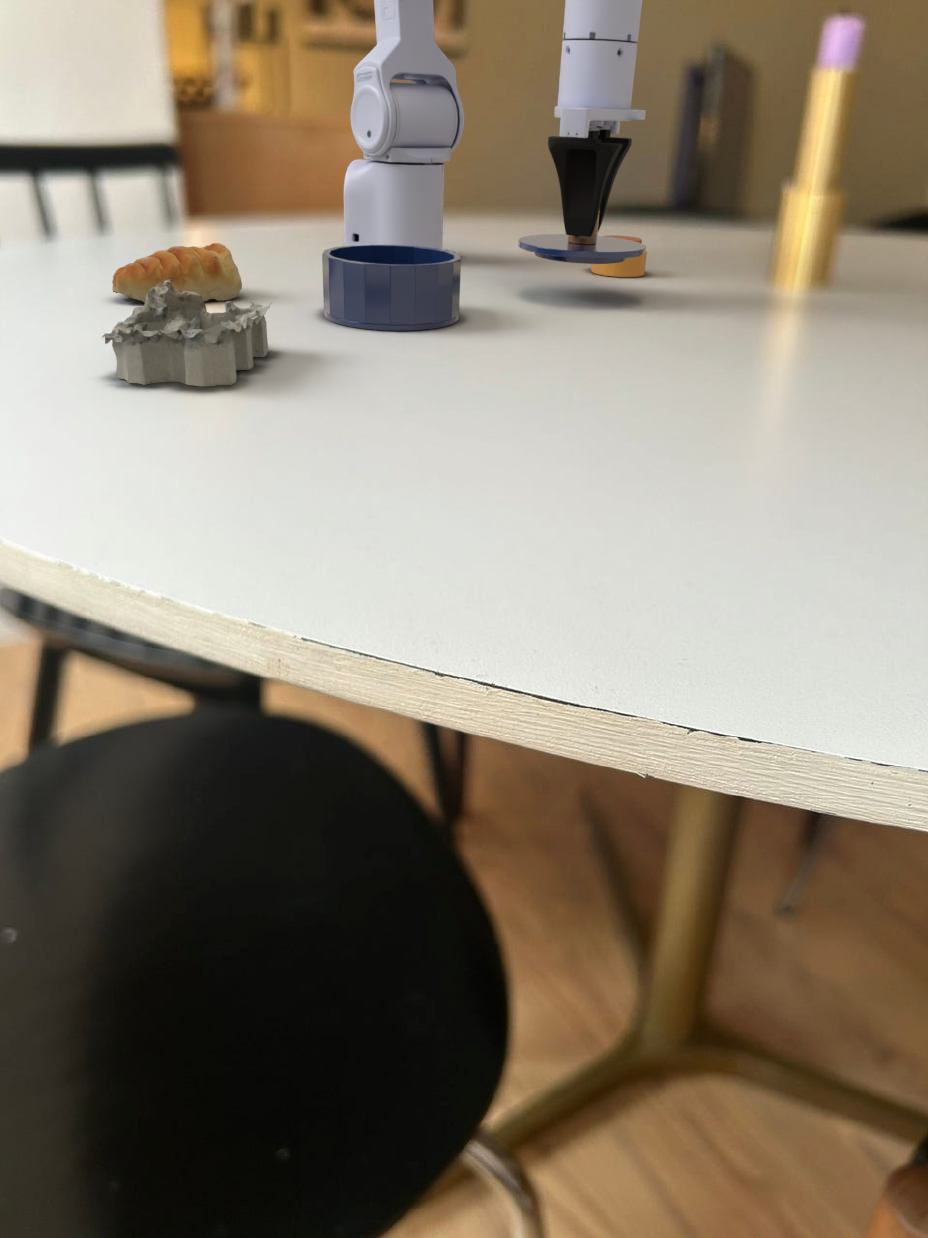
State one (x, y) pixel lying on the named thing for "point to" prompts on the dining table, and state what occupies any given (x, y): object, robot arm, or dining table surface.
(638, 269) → the stepped round knob
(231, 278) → the pastry
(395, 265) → the pot
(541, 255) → the lid
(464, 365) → the dining table surface
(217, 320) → the egg carton
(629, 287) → the dining table surface
